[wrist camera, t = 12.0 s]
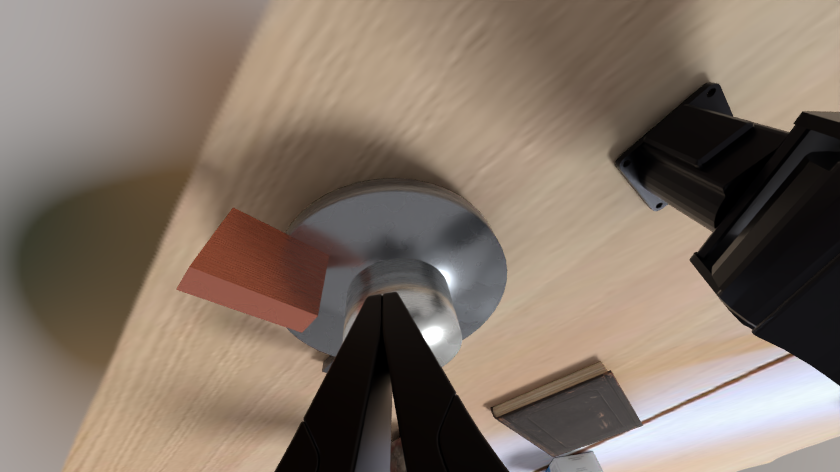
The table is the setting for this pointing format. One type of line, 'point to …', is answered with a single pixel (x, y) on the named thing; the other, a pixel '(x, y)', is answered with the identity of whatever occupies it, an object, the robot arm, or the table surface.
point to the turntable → (349, 257)
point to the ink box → (575, 463)
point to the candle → (397, 457)
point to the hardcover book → (570, 411)
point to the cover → (411, 301)
